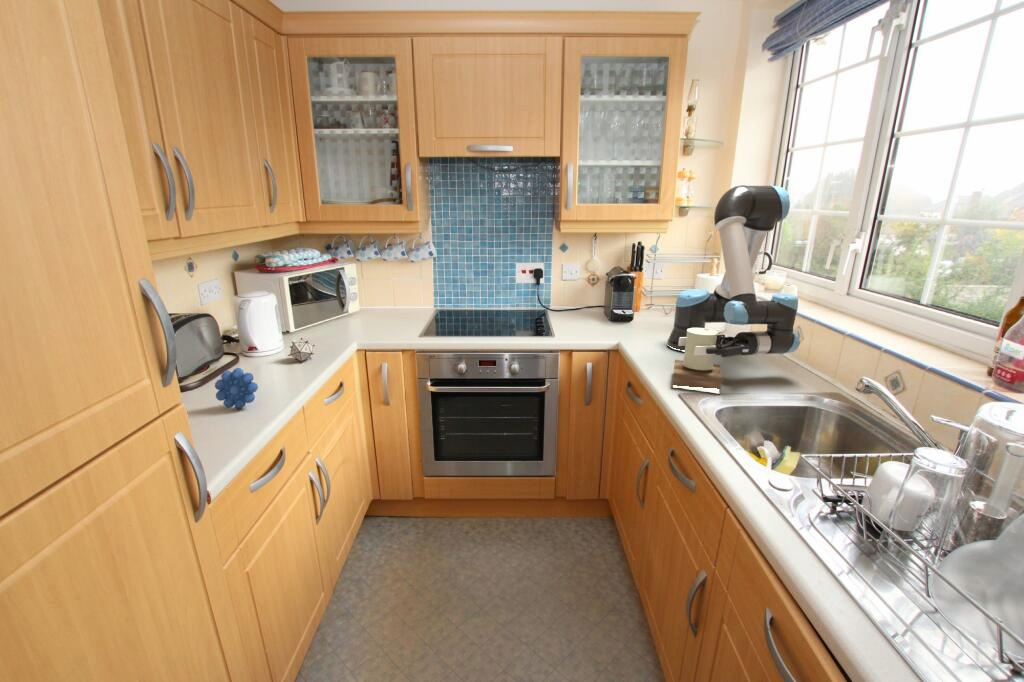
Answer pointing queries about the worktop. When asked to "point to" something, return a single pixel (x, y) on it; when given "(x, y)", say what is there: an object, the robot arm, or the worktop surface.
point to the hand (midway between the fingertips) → (687, 346)
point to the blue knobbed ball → (236, 388)
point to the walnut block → (696, 376)
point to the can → (699, 339)
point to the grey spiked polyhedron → (301, 350)
